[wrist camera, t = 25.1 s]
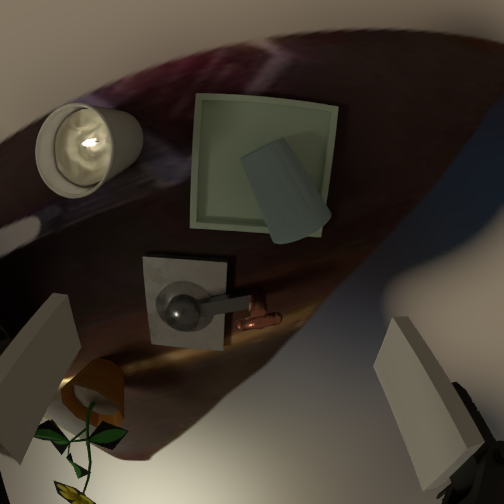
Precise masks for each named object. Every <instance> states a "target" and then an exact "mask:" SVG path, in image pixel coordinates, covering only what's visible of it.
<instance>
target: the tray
mask: <svg viewBox="0 0 504 504" xmlns="http://www.w3.org/2000/svg"><path fill="white" fill-rule="evenodd" d="M337 116H338V107H337V106H332V105H326V104H319V103H313V102H306V101H298V100H290V99H281V98H272V97H261V96H249V95H234V94H211V93H196V99H195V112H194V128H193V146H192V167H191V197H190V228H197V229H213V230H228V231H243V232H257V233H269V230H268V228H267V225H266V223H265V220H264V218H263V215H262V213H261V210H260V208H259V205H258V203H257V200H256V198H255V195H254V193H253V190H252V188H251V185H250V183H249V180H248V178H247V175H246V173H245V170H244V168H243V165H242V163H241V160H240V159H241V158H242V157H243V156H245V155H247V154H249V153H251V152H252V151H254V150H256V149H258V148H260V147H262V146H264V145H266V144H268V143H270V142H273V141H275V140H277V139H279V138H282V137H284V138H285V140H286V141H287V143H288V144H289V146H290V147H291V149H292V150H293V152H294V154H295V155H296V157H297V158H298V160H299V161H300V163H301V165H302V166H303V168H304V169H305V171H306V172H307V174H308V176H309V177H310V179H311V181H312V182H313V184H314V185H315V187H316V189H317V190H318V192H319V194H320V195H321V197H322V199H323V200H324V202H325V204H326V202H327V196H328V189H329V182H330V174H331V167H332V159H333V151H334V143H335V135H336V126H337ZM322 228H323V227H321V228H320V229H318V230H317V231H315V232H314V233H312V234H310V235H308V236H311V237H321V234H322Z"/></svg>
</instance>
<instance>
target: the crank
mask: <svg viewBox="0 0 504 504" xmlns="http://www.w3.org/2000/svg"><path fill="white" fill-rule="evenodd" d="M245 309H249V317H247V318H241V319H238V320H237V321H236V324H235V326H236V328H237V329H238V330H239V331H245V330H251V329H262V328H264V327H267V326H272V325H277V324H280V323H281V321H282V315H281V314H280V313H278V312H273V313H267V303H266V294H265V292H264V290H262V289H260V288H254V289H252V290H247V291H242V292H237V293H231V294H226V295H221V296H216V297H210V298H205V299H200V300H196V299H195V298H193V297H192V296H189V295H184V294H181V295H176V296H174V297H173V298H172V299H171V300H170V302H169V304H168V307H167V309H166V312H165V319H166V321H167V323H168V324H169V325H170V326H171V327H172V328H173V329H175V330H178V331H182V332H187V331H191V330H193V329H195V328H196V327H197V326H198V324H199V319H200V318H201V317H206V316H212V315H218V314H224V313H229V312H235V311H240V310H245Z"/></svg>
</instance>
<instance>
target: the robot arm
mask: <svg viewBox="0 0 504 504" xmlns="http://www.w3.org/2000/svg"><path fill="white" fill-rule="evenodd" d="M80 348H81V344H80V341H79V337H78V334H77V330H76V327H75V323H74V319H73V315H72V311H71V307H70V303H69V299H68V295H64V294H57V293H53V294H52V295H51V296H50V297H49V298H48V299H47V300H46V301H45V303H44V304H43V305H42V306H41V307H40V308H39V309H38V311H37V312H36V313H35V314H34V315H33V316H32V318H31V319H30V320H29V321H28V322H27V324H26V325H25V326H24V327H23V328H22V330H21V331H20V332H19V333H18V334H16V333H15V331H14V330H13V328H12V327H11V326H10V325H9V324H8V323H7V322H6V321H5V320H4V319H3V318H2V317H1V316H0V453H1V454H2V455H3V456H4V457H5V458H7V459H9V460H10V461H12V462H14V463H17V464H19V465H21V463H22V460H23V458H24V456H25V453H26V451H27V449H28V447H29V445H30V443H31V441H32V438H33V436H34V434H35V432H36V430H37V428H38V426H39V424H40V422H41V420H42V418H43V416H44V414H45V412H46V410H47V408H48V406H49V404H50V402H51V400H52V398H53V397H54V395H55V393H56V391H57V389H58V387H59V385H60V384H61V382H62V380H63V378H64V376H65V374H66V373H67V371H68V369H69V367H70V366H71V364H72V362H73V360H74V359H75V357H76V355H77V353H78V352H79V350H80ZM373 367H374V369H375V371H376V374H377V376H378V378H379V381H380V383H381V385H382V388H383V390H384V392H385V395H386V397H387V400H388V402H389V404H390V407H391V409H392V412H393V414H394V417H395V419H396V421H397V424H398V426H399V429H400V431H401V434H402V437H403V439H404V442H405V444H406V447H407V450H408V452H409V455H410V458H411V460H412V463H413V466H414V468H415V471H416V474H417V477H418V480H419V482H420V485H421V488H422V491H426V490H429V489H431V488H435V487H437V486H440V485H441V484H443V483H444V482H445V481H446V480H447V479H448V478H450V480H451V484H450V485H449V486H447V487H446V488H445V489H444V490H443V491H441V492H440V493H439V494H438V496H437V497H436V498H437V499H439V498H440V497H441V496H443V495H444V494H445V496H444V498H443V499H442V500H443V501H442V504H504V441H496V440H495V439H494V437H493V435H492V434H491V432H490V430H489V428H488V426H487V425H486V423H485V421H484V419H483V418H482V416H481V414H480V412H479V411H477V407H476V406H475V404H474V403H472V400H471V397H470V396H469V394H468V393H467V391H466V390H465V389H464V388H463V387H462V386H460V384H458V383H457V382H453V383H451V382H450V380H449V378H448V377H447V375H446V374H445V372H444V370H443V369H442V367H441V366H440V364H439V363H438V361H437V360H436V358H435V356H434V355H433V353H432V352H431V350H430V349H429V347H428V346H427V344H426V343H425V341H424V340H423V338H422V337H421V335H420V334H419V332H418V331H417V329H416V328H415V326H414V325H413V323H412V322H411V321H410V319H409V318H408V317H392V319H391V323H390V325H389V328H388V330H387V333H386V336H385V339H384V341H383V343H382V346H381V348H380V351H379V353H378V356H377V358H376V361H375V363H374V366H373ZM0 504H10V502H9V499H8V496H7V493H6V490H5V486H4V483H3V479H2V476H1V472H0Z"/></svg>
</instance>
